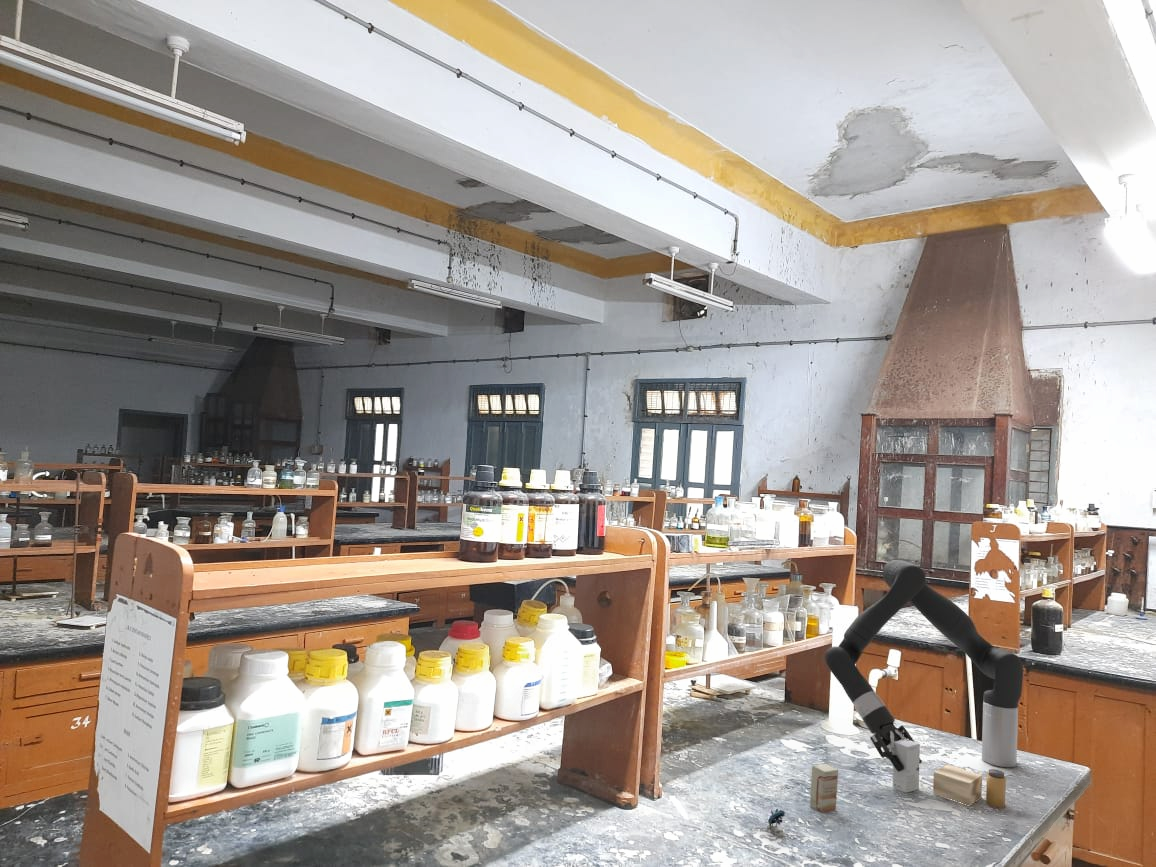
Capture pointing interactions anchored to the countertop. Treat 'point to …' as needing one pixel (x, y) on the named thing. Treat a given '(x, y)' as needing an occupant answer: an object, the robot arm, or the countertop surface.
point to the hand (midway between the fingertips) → (910, 767)
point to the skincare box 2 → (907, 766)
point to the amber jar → (996, 788)
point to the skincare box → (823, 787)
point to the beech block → (957, 784)
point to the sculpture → (775, 819)
